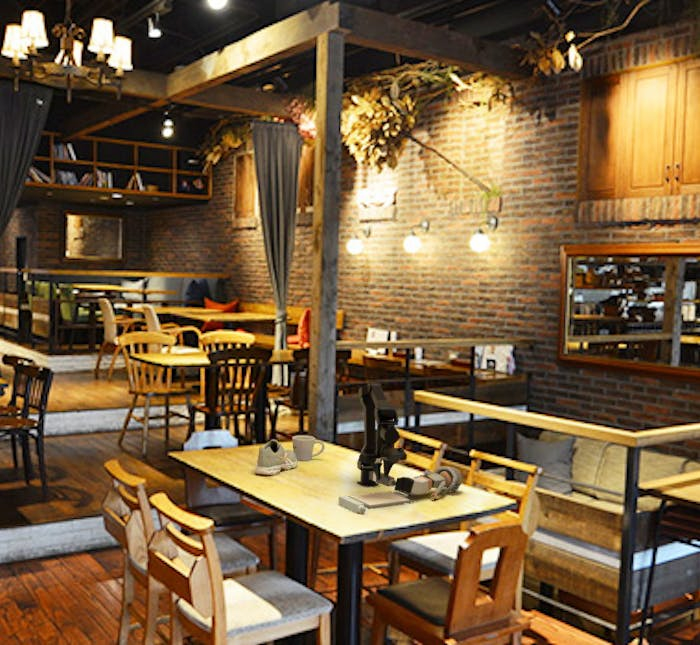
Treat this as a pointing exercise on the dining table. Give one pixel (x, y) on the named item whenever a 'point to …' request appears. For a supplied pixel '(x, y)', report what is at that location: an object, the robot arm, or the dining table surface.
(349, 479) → the dining table surface
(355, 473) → the dining table surface
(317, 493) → the dining table surface
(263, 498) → the dining table surface
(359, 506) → the pale blue marker
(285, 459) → the running shoe
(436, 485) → the toy
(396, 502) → the whiteboard
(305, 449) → the mug
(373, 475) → the black marker
